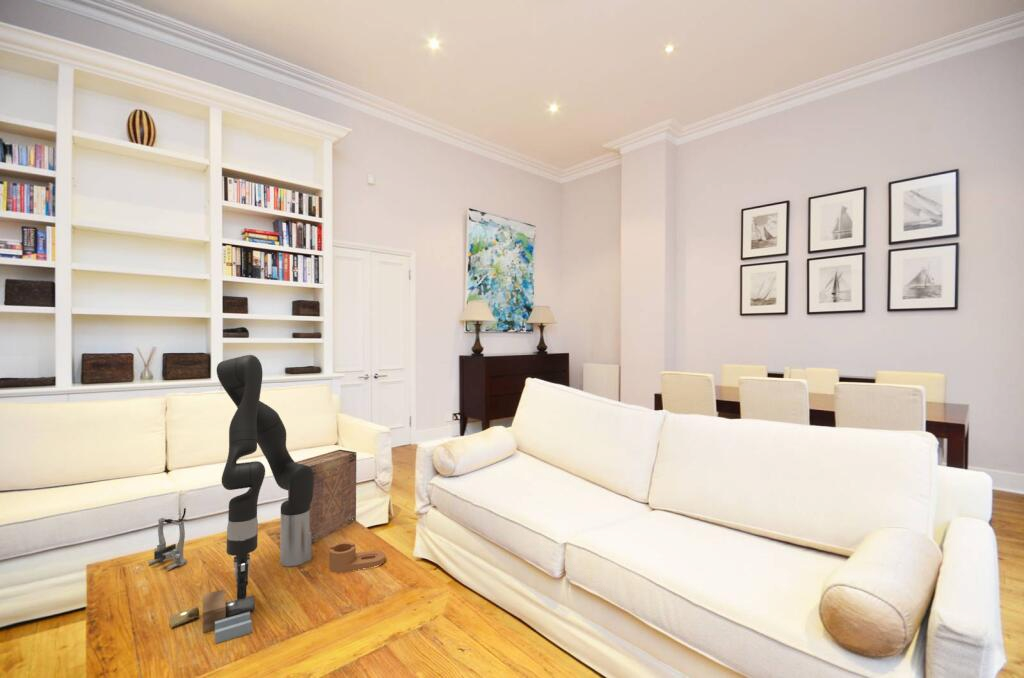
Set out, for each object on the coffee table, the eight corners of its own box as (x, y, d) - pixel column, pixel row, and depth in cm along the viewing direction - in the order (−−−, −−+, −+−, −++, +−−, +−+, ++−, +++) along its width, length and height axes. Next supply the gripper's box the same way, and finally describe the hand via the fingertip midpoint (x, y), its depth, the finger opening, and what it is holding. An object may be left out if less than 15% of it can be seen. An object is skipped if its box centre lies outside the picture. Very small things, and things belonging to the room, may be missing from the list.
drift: (197, 604, 127) (199, 615, 126) (195, 608, 129) (197, 619, 127) (171, 613, 123) (173, 625, 122) (169, 617, 124) (171, 629, 123)
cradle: (249, 621, 125) (249, 611, 125) (251, 632, 121) (251, 621, 121) (214, 632, 121) (214, 621, 121) (215, 643, 116) (215, 632, 116)
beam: (224, 607, 132) (224, 589, 132) (225, 626, 123) (225, 606, 123) (202, 613, 129) (203, 594, 129) (203, 632, 121) (203, 612, 121)
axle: (253, 608, 133) (253, 594, 134) (254, 611, 129) (254, 596, 130) (212, 619, 127) (212, 604, 128) (212, 622, 124) (212, 607, 125)
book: (304, 549, 167) (305, 467, 167) (287, 544, 171) (287, 464, 171) (356, 524, 190) (356, 451, 190) (339, 520, 194) (340, 449, 194)
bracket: (328, 576, 150) (328, 555, 150) (330, 564, 158) (330, 543, 158) (385, 568, 155) (385, 547, 155) (384, 556, 163) (384, 537, 163)
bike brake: (192, 564, 156) (192, 506, 156) (171, 574, 149) (171, 513, 149) (165, 557, 161) (165, 500, 160) (143, 566, 154) (144, 507, 154)
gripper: (226, 527, 134) (225, 583, 134) (227, 546, 122) (225, 607, 122) (256, 522, 138) (254, 576, 138) (259, 540, 126) (257, 599, 126)
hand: (241, 591), depth 130 cm, fingers open, 8 cm apart
